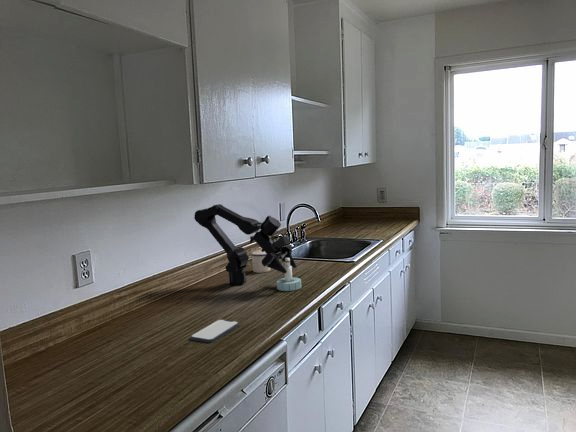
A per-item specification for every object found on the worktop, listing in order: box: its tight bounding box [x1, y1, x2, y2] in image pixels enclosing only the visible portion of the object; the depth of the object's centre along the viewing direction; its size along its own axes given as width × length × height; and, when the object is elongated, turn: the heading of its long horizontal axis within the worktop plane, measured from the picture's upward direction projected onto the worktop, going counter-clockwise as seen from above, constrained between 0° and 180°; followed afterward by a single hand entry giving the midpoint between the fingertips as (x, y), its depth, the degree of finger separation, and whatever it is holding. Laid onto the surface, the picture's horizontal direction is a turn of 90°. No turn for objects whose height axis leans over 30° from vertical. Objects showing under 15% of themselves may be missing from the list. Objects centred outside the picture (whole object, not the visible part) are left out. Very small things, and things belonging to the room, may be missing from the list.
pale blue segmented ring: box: [276, 276, 302, 292], centre depth 199 cm, size 10×10×3 cm
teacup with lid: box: [247, 246, 272, 274], centre depth 232 cm, size 12×9×12 cm
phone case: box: [190, 319, 240, 344], centre depth 153 cm, size 9×2×16 cm
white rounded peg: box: [283, 258, 293, 282], centre depth 199 cm, size 3×3×12 cm
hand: (291, 270), depth 198 cm, fingers open, 9 cm apart
